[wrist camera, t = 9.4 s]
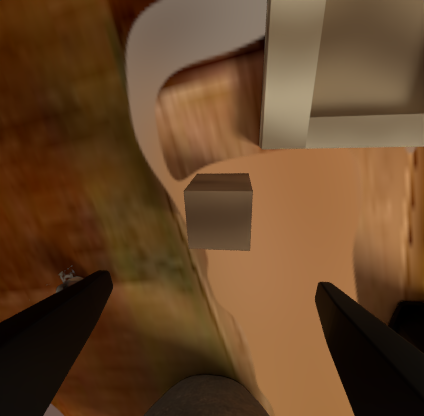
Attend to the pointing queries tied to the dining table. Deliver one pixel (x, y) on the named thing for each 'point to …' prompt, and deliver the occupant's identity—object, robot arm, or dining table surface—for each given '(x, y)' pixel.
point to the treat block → (219, 211)
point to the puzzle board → (343, 74)
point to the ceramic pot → (207, 399)
